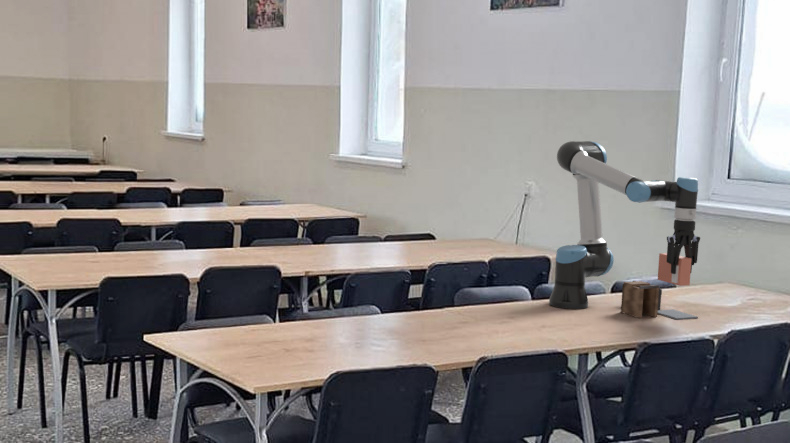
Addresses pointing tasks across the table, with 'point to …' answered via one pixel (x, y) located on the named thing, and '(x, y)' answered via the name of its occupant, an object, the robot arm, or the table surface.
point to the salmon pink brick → (683, 272)
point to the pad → (676, 314)
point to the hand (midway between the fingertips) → (680, 282)
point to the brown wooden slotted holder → (640, 299)
